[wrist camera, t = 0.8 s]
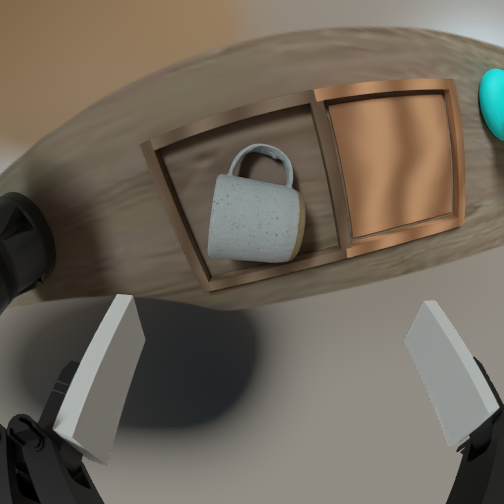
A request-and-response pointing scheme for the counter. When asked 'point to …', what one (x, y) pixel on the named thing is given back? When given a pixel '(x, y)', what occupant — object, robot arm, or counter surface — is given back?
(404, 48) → the counter surface
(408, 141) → the tray
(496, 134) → the donuts
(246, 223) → the ceramic mug
